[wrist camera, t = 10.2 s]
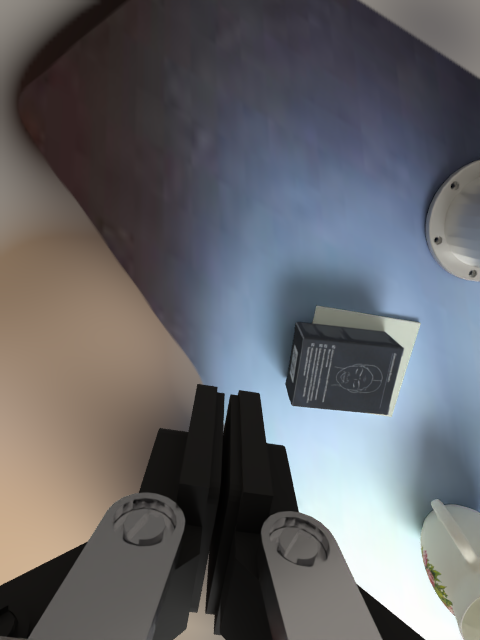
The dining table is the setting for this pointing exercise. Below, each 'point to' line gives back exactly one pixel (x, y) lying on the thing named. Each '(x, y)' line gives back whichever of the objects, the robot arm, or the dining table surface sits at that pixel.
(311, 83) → the dining table surface
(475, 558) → the pitcher
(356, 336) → the box
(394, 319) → the mat
